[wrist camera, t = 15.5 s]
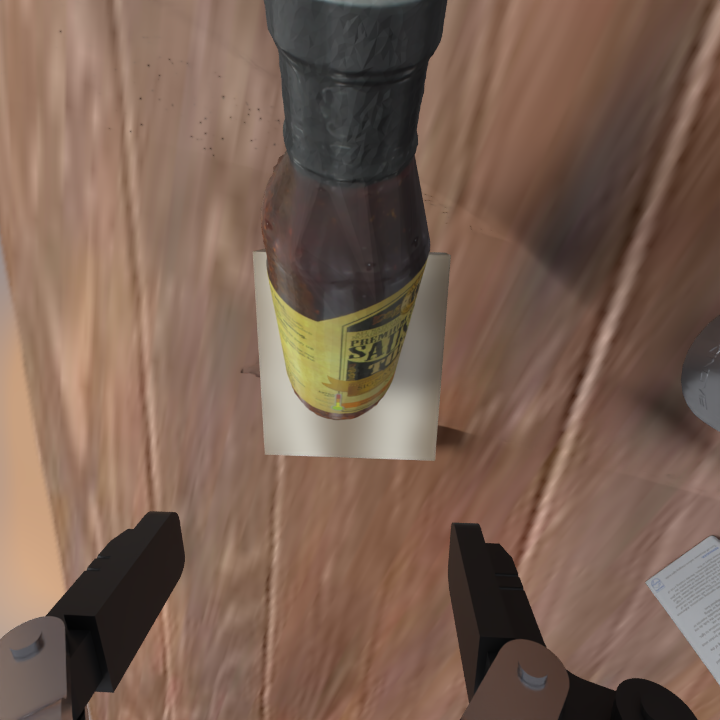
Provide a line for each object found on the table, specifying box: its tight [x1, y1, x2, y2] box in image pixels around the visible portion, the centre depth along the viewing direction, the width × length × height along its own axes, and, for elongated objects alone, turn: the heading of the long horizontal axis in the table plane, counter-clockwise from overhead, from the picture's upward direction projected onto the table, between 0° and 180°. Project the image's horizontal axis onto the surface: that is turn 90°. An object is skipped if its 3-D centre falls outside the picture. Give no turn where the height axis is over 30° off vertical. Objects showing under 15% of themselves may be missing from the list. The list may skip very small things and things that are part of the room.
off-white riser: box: [253, 249, 451, 461], centre depth 30 cm, size 12×14×3 cm
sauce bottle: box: [261, 0, 447, 420], centre depth 18 cm, size 6×6×20 cm
